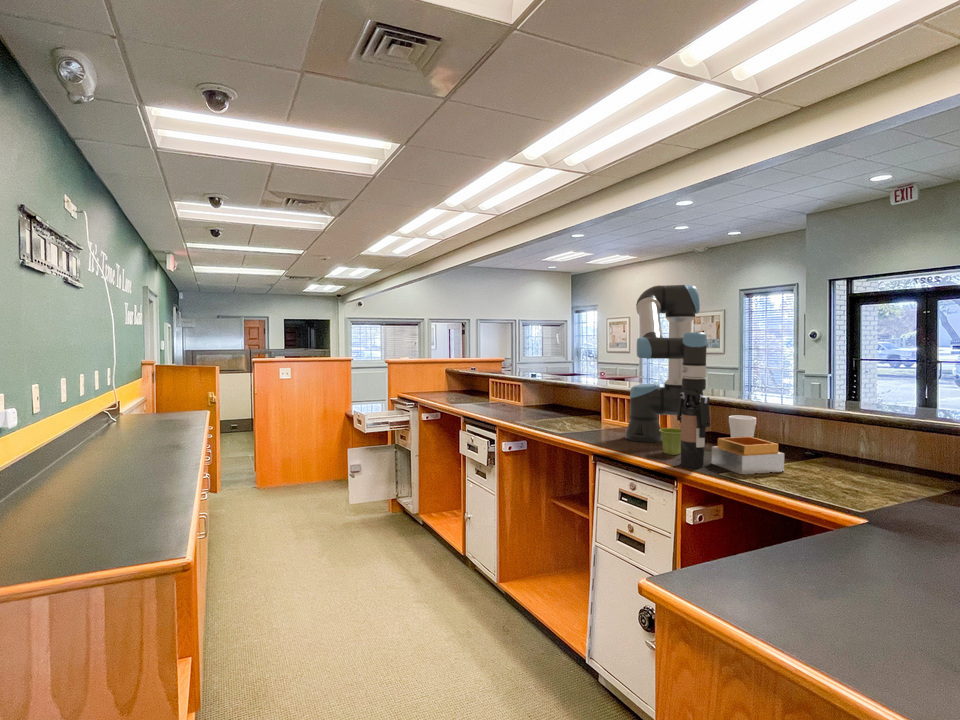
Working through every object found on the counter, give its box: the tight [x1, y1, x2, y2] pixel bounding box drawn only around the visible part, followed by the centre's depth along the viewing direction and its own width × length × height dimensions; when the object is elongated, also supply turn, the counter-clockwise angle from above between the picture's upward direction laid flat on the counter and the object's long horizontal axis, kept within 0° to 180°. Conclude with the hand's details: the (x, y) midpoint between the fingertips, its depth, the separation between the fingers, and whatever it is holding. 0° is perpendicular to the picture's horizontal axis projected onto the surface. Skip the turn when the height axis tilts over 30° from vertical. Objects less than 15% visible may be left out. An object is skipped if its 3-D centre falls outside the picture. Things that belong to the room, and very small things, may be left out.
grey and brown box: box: [710, 436, 785, 475], centre depth 184 cm, size 15×21×9 cm
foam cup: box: [728, 414, 757, 438], centre depth 209 cm, size 10×9×13 cm
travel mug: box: [680, 407, 705, 469], centre depth 186 cm, size 8×8×20 cm
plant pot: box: [659, 427, 681, 456], centre depth 205 cm, size 9×9×9 cm
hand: (692, 444), depth 187 cm, fingers closed on travel mug, 8 cm apart
